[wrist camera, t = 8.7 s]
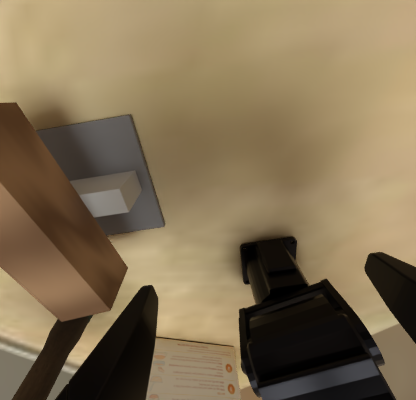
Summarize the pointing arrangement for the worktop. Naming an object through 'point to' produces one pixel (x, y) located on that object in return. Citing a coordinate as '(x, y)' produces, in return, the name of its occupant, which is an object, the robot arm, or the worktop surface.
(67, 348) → the potato masher grenade
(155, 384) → the coffeecake box
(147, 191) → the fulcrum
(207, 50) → the worktop surface
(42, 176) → the plank
